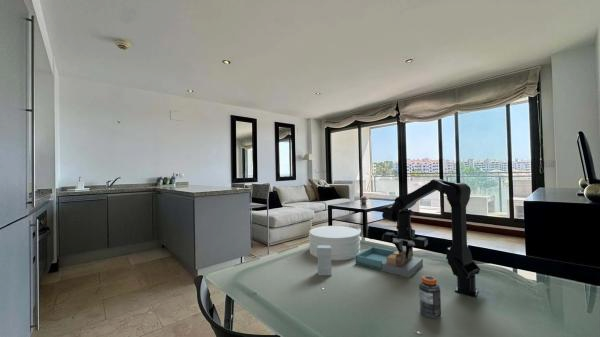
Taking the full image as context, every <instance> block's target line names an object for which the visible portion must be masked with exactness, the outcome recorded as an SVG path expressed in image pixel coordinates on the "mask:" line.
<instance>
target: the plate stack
mask: <svg viewBox="0 0 600 337" xmlns="http://www.w3.org/2000/svg"><path fill="white" fill-rule="evenodd" d="M360 235H361V232H360V230H359V229H357V228H354V227H351V226H350V227H349V226H343V225H325V226H317V227H314V228H312V229H310V230H309V254H311V255H312V256H313V257H315V258H318V257H317V246H318V245H330V246H331V261H347V260H351V259H352V260H353V259H356V255H358V254H359V253H361V241H360V240H361V236H360Z"/></svg>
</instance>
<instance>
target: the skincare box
mask: <svg viewBox="0 0 600 337" xmlns="http://www.w3.org/2000/svg"><path fill="white" fill-rule="evenodd" d="M316 258H317V276H332V274H333V273H332V272H333V271H332V260H331V246H330V245H318V246H317V257H316Z"/></svg>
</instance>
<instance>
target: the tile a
mask: <svg viewBox="0 0 600 337" xmlns="http://www.w3.org/2000/svg"><path fill="white" fill-rule="evenodd" d="M387 263H391V264H395V265H396V255H389V256H388V257H387Z"/></svg>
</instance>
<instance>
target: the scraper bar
mask: <svg viewBox="0 0 600 337" xmlns="http://www.w3.org/2000/svg"><path fill="white" fill-rule="evenodd" d="M413 250H414V248H413V247H412V249H411V252H410V254H409V257H408V259H407V258H406V248H405V249H403V251H402V252H401V253H399V254H398V255H396V265H398V266H401V265H402V264H404V263H405V262H406V261H408V260H409V259H410V258H411V257H414V251H413Z"/></svg>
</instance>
